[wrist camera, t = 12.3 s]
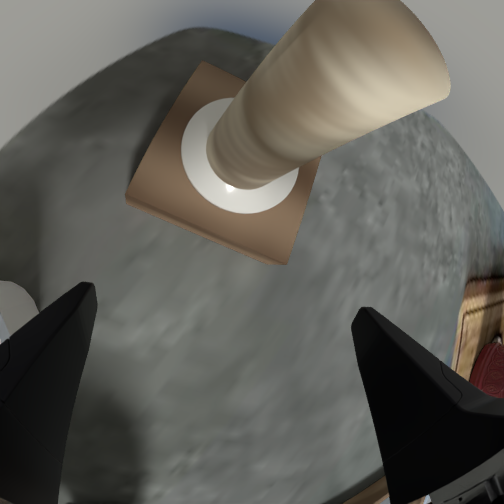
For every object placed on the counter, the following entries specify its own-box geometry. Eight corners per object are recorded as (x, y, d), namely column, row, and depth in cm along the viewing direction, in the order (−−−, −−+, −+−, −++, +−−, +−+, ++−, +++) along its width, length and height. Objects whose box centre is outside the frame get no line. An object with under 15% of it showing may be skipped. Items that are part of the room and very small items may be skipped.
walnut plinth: (267, 264, 22) (289, 264, 19) (126, 203, 18) (125, 192, 15) (308, 143, 24) (331, 129, 21) (192, 81, 20) (203, 57, 17)
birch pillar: (293, 162, 19) (460, 79, 7) (241, 205, 18) (427, 123, 6) (247, 105, 18) (379, -24, 6) (189, 142, 17) (302, -27, 5)
